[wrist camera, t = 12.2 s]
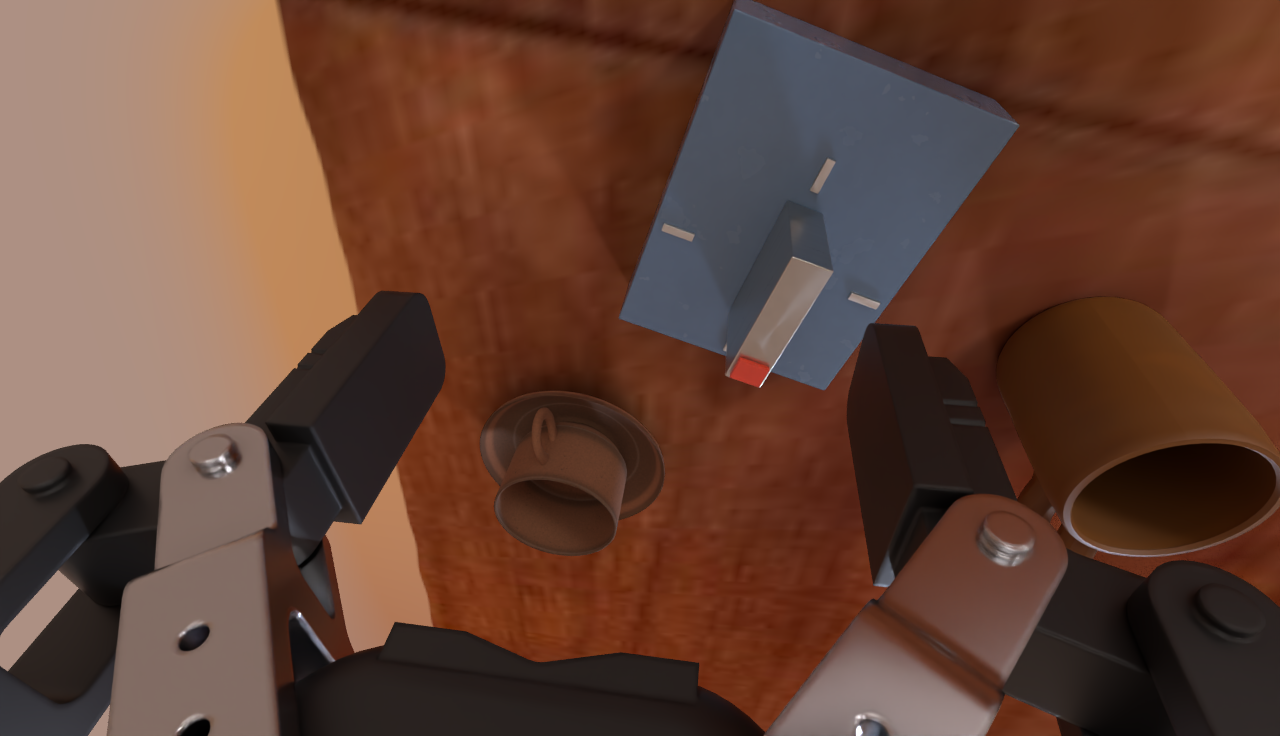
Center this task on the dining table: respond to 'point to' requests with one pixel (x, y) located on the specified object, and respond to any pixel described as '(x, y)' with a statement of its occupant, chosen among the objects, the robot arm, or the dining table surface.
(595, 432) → the cup and saucer
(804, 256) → the brushed steel block
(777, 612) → the dining table surface
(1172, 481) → the mug
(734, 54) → the control panel
